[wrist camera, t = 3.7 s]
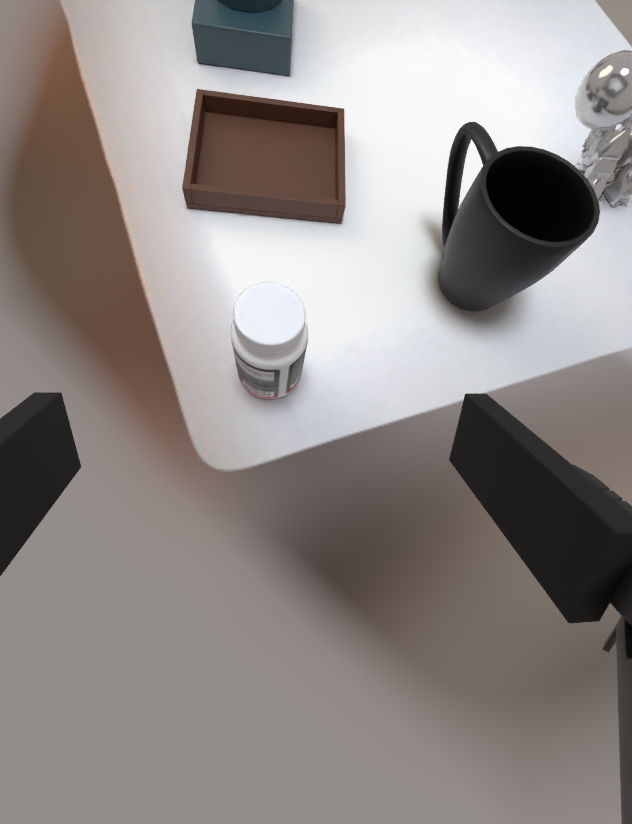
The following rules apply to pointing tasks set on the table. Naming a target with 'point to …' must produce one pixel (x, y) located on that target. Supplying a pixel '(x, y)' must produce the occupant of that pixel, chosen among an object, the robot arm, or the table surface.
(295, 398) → the table surface
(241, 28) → the console
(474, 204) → the mug
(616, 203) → the robot toy
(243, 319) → the pill bottle
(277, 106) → the tray
